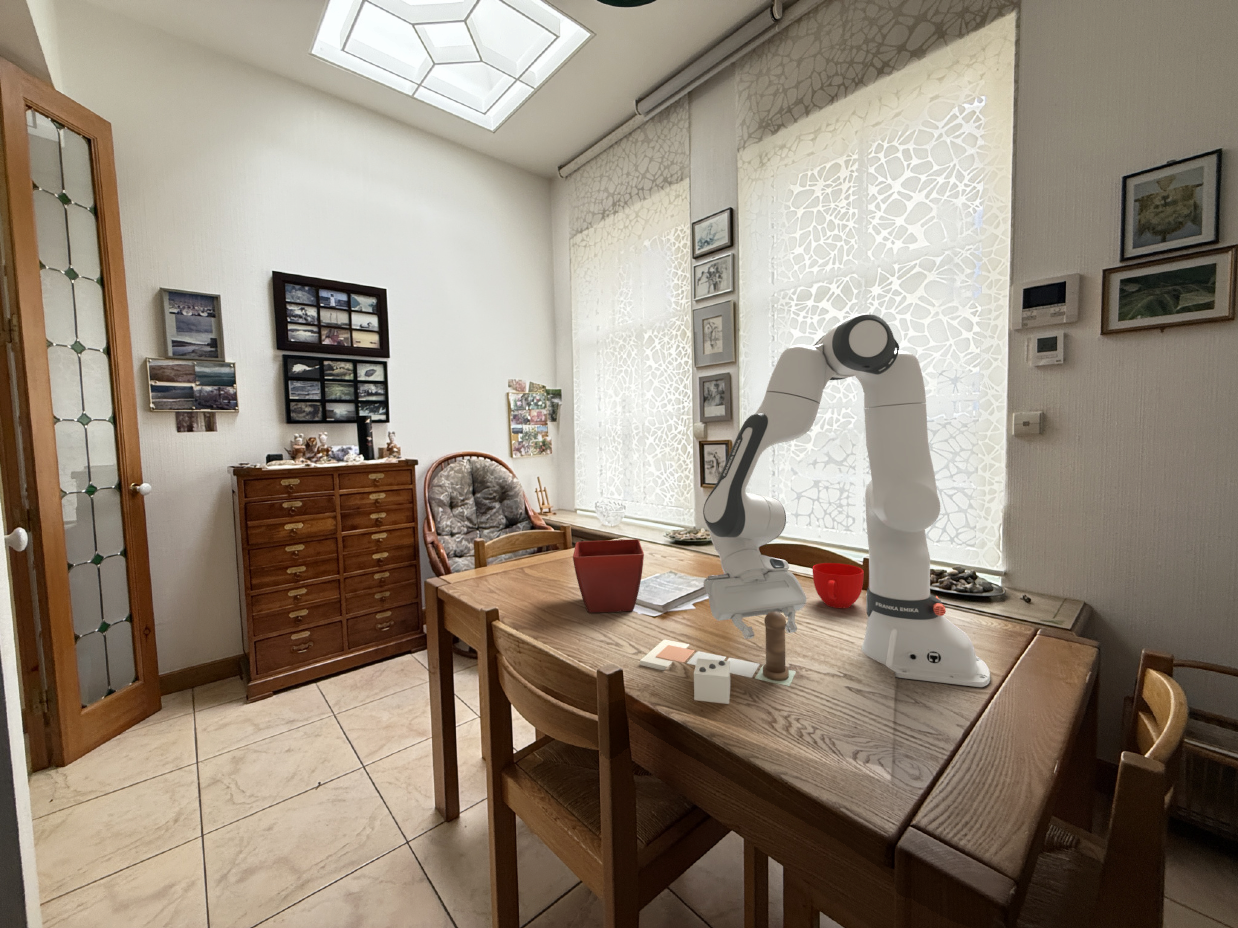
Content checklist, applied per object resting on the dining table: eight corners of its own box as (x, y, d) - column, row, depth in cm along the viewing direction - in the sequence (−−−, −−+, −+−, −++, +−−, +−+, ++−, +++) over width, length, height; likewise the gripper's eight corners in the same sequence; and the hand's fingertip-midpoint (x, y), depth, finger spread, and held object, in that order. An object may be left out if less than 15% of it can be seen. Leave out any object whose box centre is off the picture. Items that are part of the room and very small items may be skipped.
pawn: (791, 672, 96) (790, 609, 96) (785, 682, 92) (785, 618, 91) (766, 666, 99) (765, 606, 98) (760, 677, 94) (759, 613, 94)
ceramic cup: (804, 611, 132) (804, 575, 131) (818, 594, 146) (818, 560, 145) (857, 620, 124) (857, 581, 124) (866, 601, 138) (866, 566, 138)
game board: (810, 673, 98) (810, 667, 98) (799, 702, 87) (799, 695, 87) (664, 643, 114) (664, 638, 114) (640, 664, 103) (640, 659, 103)
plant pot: (574, 618, 131) (572, 556, 130) (577, 595, 150) (576, 541, 149) (645, 615, 132) (644, 553, 131) (640, 593, 151) (639, 538, 150)
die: (730, 692, 91) (730, 658, 91) (729, 710, 86) (728, 673, 85) (697, 689, 93) (697, 655, 93) (694, 706, 87) (693, 669, 87)
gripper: (705, 568, 100) (728, 634, 91) (793, 560, 105) (823, 621, 96) (696, 584, 105) (717, 647, 96) (781, 575, 110) (809, 634, 101)
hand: (771, 634), depth 96 cm, fingers open, 8 cm apart
